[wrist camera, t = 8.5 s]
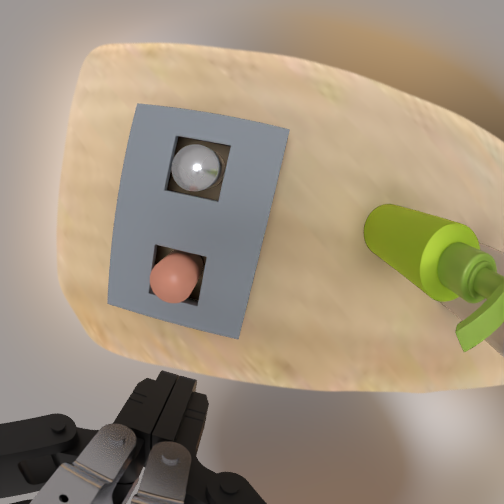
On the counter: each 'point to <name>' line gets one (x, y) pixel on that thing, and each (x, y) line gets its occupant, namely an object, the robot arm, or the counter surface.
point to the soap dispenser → (440, 264)
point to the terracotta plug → (176, 276)
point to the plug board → (193, 215)
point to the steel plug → (197, 168)
